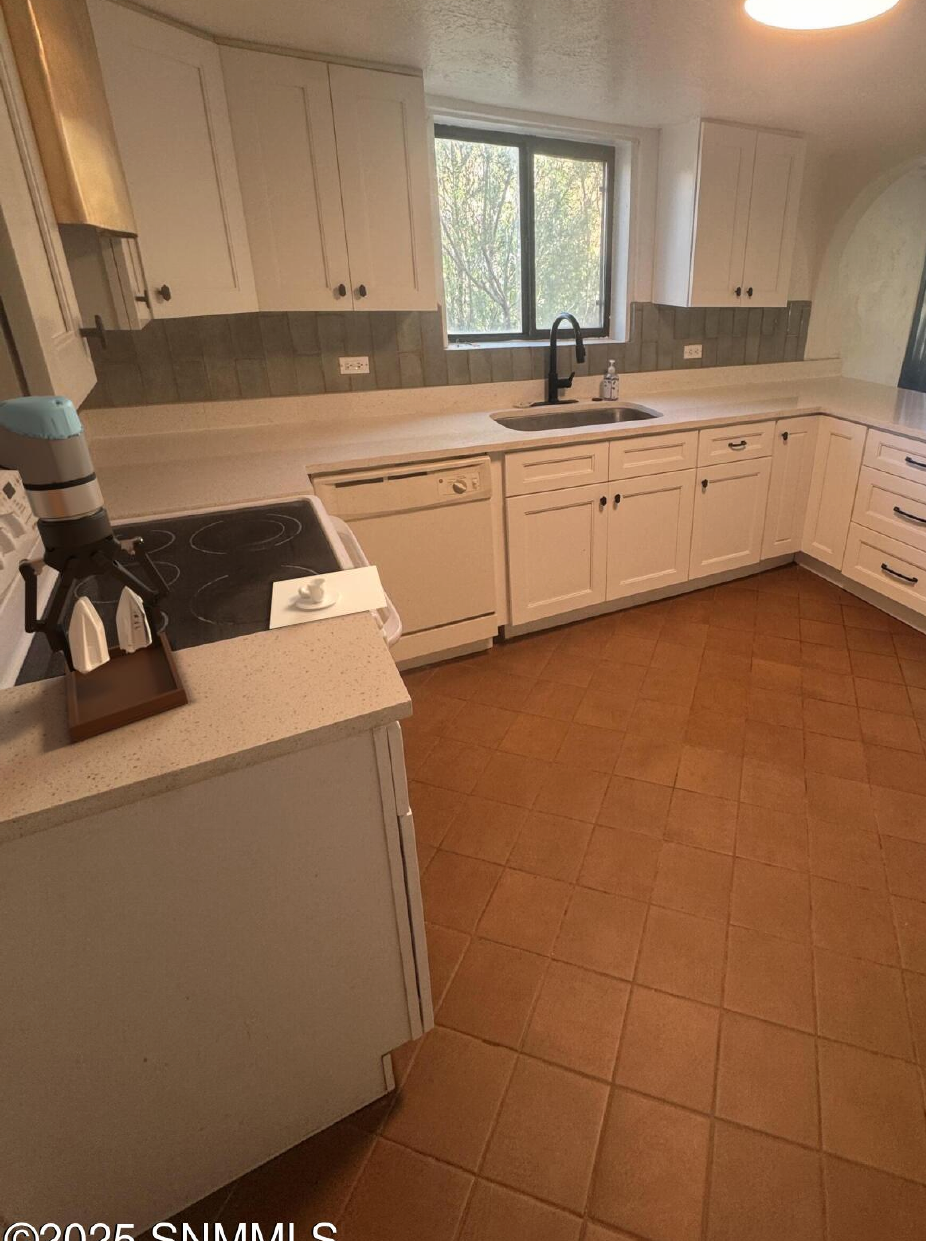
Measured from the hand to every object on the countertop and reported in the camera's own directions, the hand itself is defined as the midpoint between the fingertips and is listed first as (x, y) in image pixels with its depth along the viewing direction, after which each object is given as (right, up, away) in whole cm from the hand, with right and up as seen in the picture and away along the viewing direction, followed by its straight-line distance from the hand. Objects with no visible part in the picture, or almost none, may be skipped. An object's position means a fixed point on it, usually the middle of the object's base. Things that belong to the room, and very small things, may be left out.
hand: (116, 654), depth 92 cm
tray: (0, -5, +2) cm, 6 cm away
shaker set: (0, -1, 0) cm, 1 cm away
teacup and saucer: (+18, +5, +30) cm, 36 cm away
